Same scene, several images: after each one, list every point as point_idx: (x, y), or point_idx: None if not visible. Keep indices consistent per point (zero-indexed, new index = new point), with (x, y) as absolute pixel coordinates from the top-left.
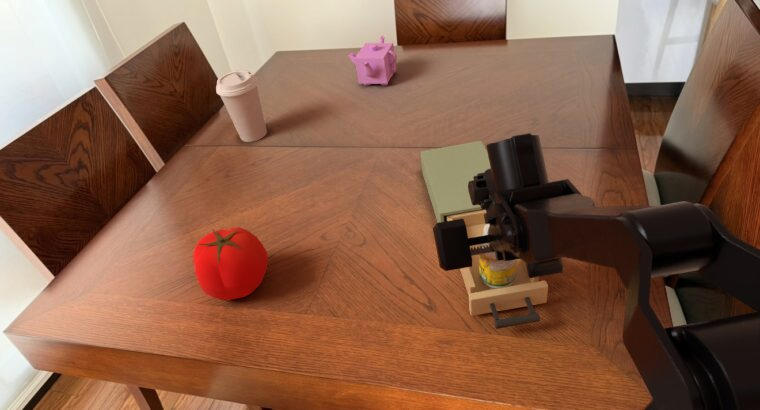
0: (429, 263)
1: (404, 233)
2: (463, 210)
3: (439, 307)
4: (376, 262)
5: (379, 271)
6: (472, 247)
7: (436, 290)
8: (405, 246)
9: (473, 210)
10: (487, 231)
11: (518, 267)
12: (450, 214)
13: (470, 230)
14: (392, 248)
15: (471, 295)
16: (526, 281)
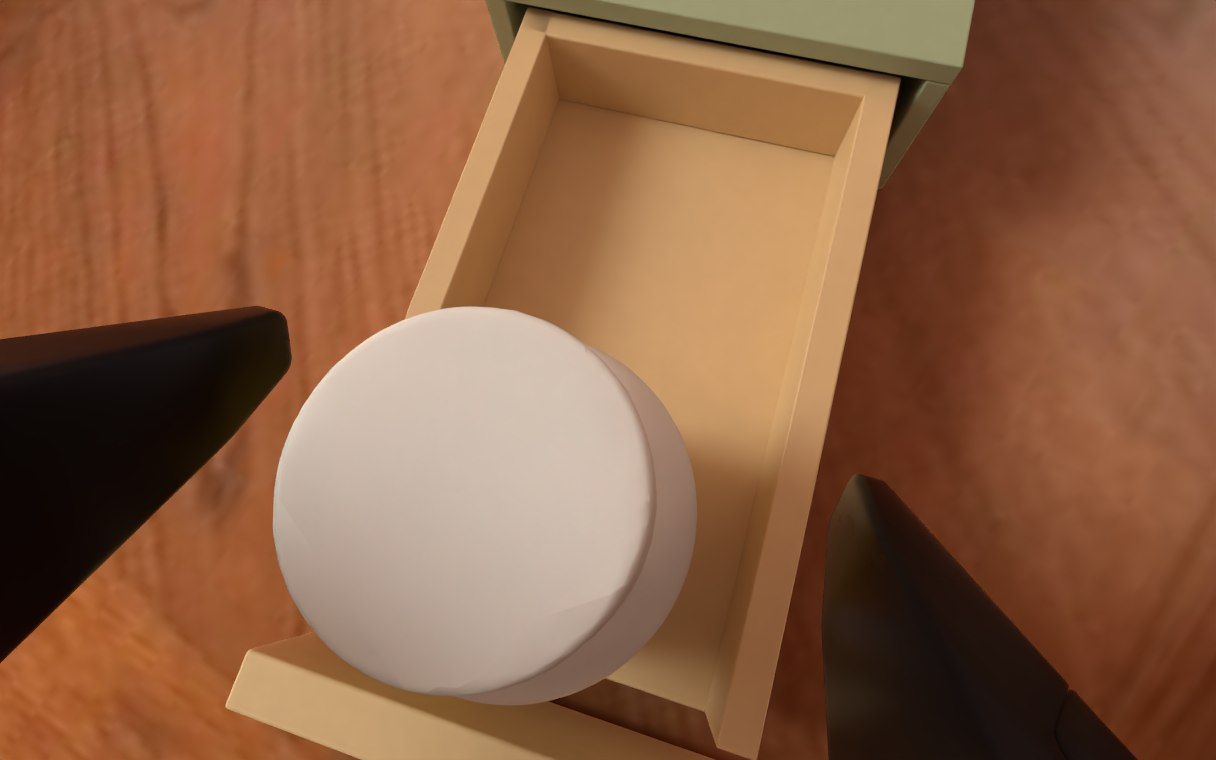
0: (372, 238)
1: (382, 25)
2: (623, 10)
3: (250, 510)
4: (178, 127)
5: (157, 180)
6: (574, 262)
7: (301, 406)
8: (340, 97)
9: (688, 34)
10: (325, 445)
11: (719, 522)
12: (545, 7)
13: (635, 149)
14: (284, 83)
15: (251, 673)
16: (700, 645)
